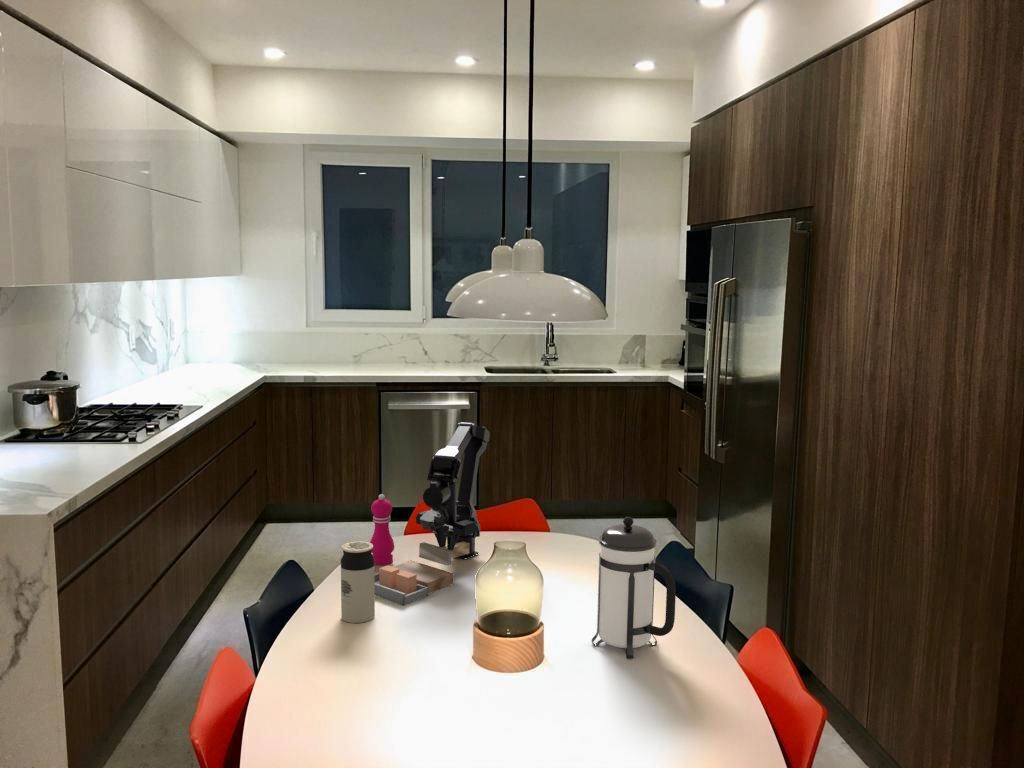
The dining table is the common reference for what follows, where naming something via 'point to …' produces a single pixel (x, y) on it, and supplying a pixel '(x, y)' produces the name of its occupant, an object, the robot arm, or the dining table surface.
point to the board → (427, 575)
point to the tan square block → (388, 576)
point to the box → (399, 593)
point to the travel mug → (357, 582)
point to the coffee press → (630, 588)
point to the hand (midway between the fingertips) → (446, 552)
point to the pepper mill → (382, 532)
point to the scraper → (442, 552)
